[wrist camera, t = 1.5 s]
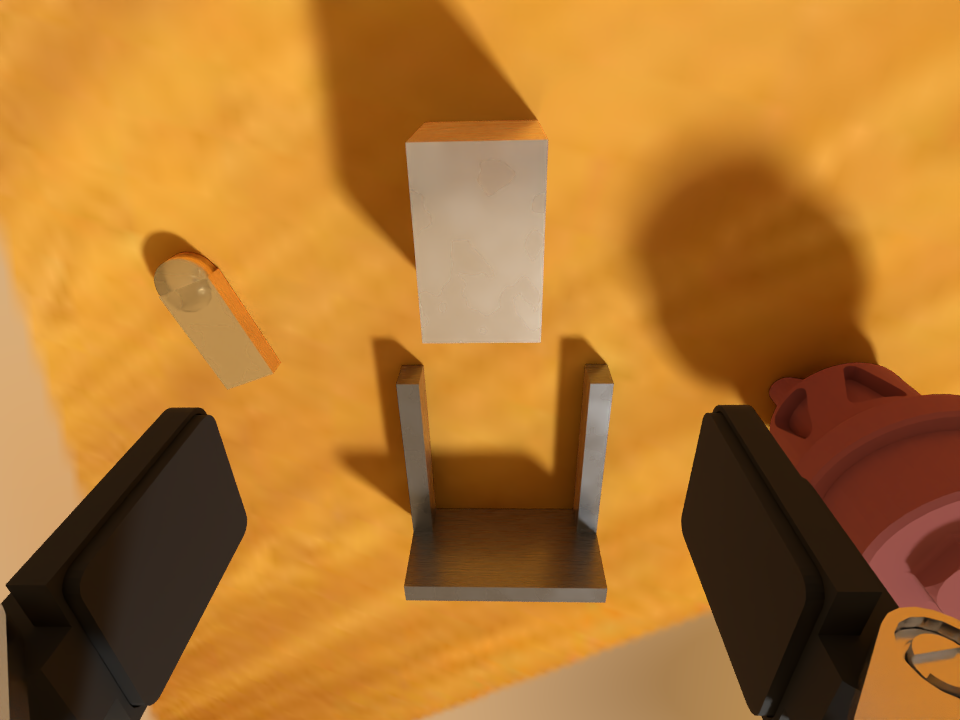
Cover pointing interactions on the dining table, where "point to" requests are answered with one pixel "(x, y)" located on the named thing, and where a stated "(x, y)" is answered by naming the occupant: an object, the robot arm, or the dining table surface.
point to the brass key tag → (214, 319)
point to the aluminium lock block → (479, 229)
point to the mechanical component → (882, 472)
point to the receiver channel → (505, 519)
